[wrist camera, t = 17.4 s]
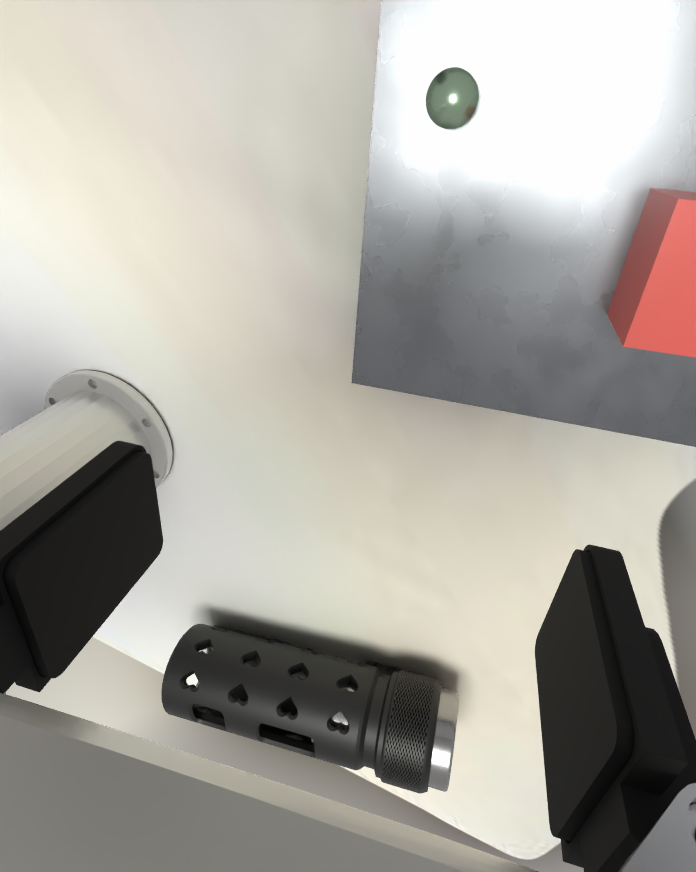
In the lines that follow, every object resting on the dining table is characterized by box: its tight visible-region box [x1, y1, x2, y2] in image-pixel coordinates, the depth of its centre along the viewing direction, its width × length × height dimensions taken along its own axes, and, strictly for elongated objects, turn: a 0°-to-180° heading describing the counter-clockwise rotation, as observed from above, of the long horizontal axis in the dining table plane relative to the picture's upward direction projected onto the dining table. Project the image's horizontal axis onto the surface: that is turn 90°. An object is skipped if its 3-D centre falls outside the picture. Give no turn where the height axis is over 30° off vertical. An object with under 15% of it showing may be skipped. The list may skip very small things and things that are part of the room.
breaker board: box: [352, 0, 696, 447], centre depth 27 cm, size 20×22×4 cm
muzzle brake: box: [162, 624, 459, 793], centre depth 50 cm, size 10×28×10 cm, turn 91°
